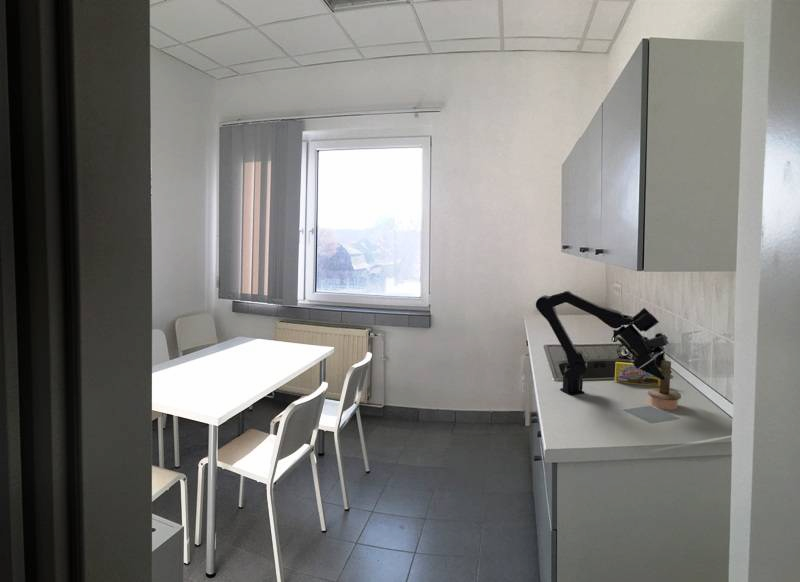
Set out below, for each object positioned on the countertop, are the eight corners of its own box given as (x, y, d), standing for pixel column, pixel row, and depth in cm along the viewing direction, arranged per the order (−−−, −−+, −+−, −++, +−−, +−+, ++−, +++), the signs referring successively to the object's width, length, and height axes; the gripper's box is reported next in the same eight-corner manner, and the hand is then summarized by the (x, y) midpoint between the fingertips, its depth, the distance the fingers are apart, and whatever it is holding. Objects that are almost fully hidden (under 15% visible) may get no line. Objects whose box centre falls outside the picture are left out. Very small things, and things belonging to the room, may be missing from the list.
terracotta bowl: (664, 411, 155) (665, 400, 155) (645, 403, 163) (645, 392, 162) (682, 409, 158) (683, 397, 157) (662, 401, 165) (663, 390, 165)
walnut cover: (665, 401, 154) (667, 366, 152) (641, 392, 163) (642, 359, 162) (687, 398, 157) (690, 364, 155) (663, 389, 166) (665, 356, 165)
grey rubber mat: (651, 424, 145) (651, 423, 145) (622, 411, 156) (622, 409, 156) (680, 419, 148) (680, 418, 148) (649, 407, 160) (650, 405, 160)
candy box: (614, 382, 187) (615, 362, 186) (614, 381, 189) (615, 361, 188) (659, 386, 182) (661, 366, 181) (658, 385, 184) (660, 364, 183)
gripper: (645, 330, 153) (681, 368, 147) (660, 322, 167) (693, 357, 161) (619, 349, 160) (652, 387, 153) (635, 340, 173) (666, 375, 167)
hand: (667, 376), depth 159 cm, fingers open, 9 cm apart
